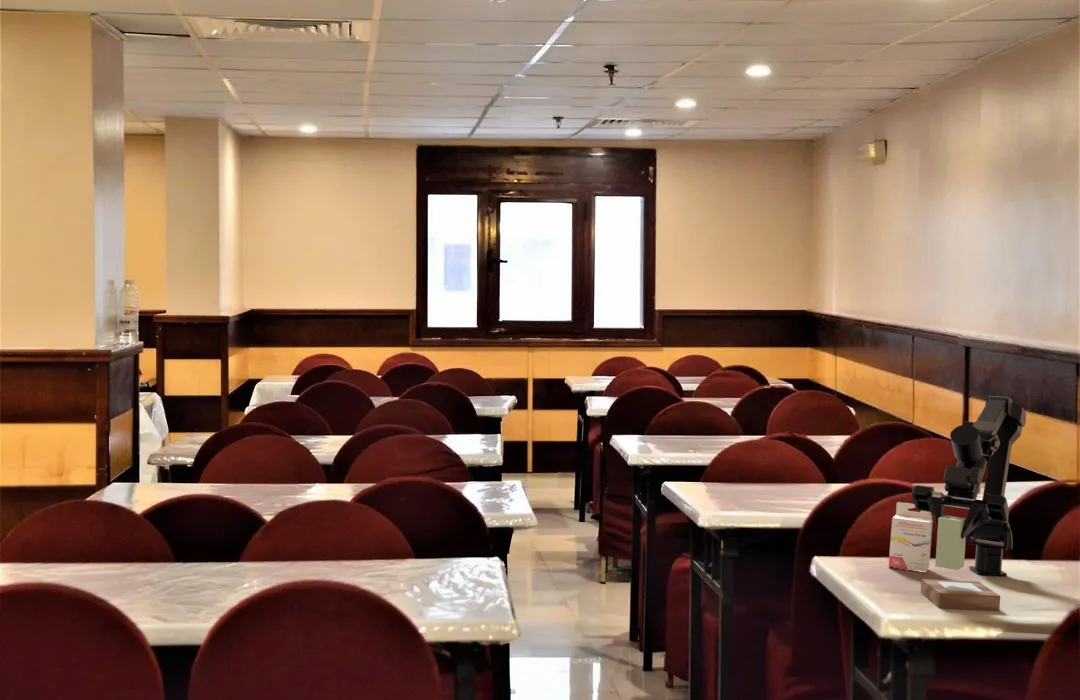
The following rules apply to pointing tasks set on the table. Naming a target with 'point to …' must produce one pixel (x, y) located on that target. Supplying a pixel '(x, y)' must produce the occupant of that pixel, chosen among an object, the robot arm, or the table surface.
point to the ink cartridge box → (910, 538)
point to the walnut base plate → (960, 594)
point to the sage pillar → (950, 543)
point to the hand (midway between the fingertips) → (949, 535)
